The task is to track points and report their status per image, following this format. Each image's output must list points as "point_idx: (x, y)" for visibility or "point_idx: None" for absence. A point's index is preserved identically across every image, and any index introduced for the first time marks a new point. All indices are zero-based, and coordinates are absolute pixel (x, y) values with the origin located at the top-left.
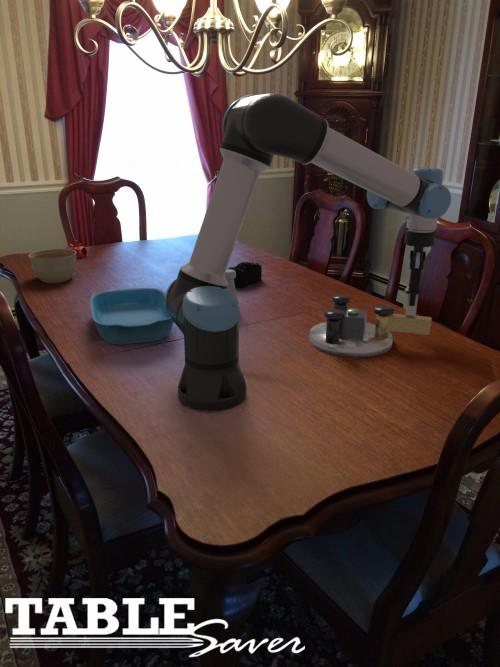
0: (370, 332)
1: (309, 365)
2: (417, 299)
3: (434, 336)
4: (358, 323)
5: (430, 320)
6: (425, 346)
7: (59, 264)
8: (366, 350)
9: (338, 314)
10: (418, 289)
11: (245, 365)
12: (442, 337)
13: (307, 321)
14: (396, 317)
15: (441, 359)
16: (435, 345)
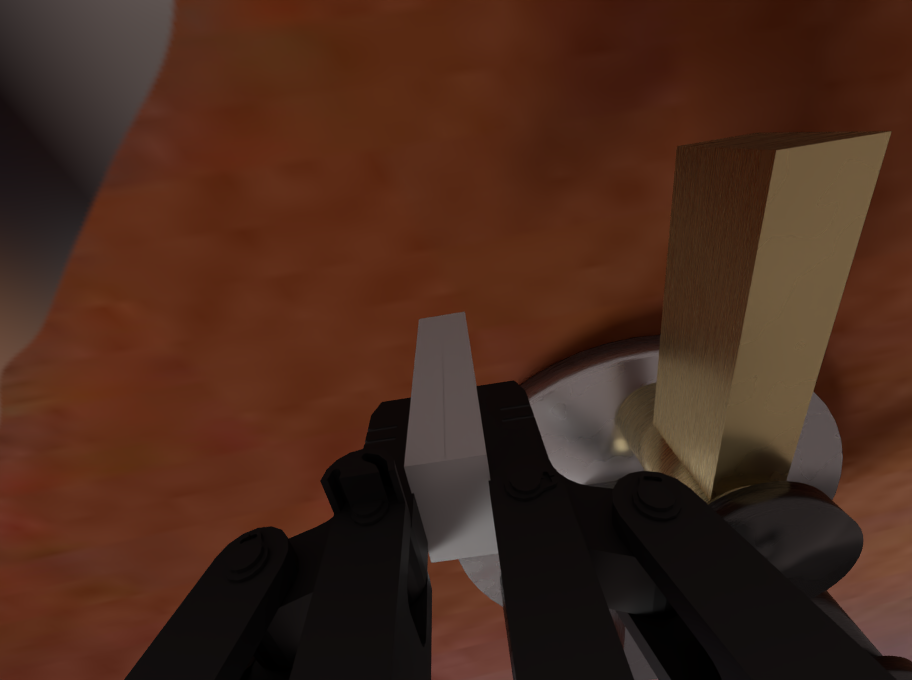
0: (593, 463)
1: (897, 532)
2: (478, 407)
3: (376, 127)
4: None
5: (886, 145)
6: (593, 159)
7: None
8: (832, 425)
9: None
10: (759, 554)
11: (893, 639)
12: (366, 61)
13: (467, 639)
14: (792, 441)
15: (810, 9)
16: (553, 93)
